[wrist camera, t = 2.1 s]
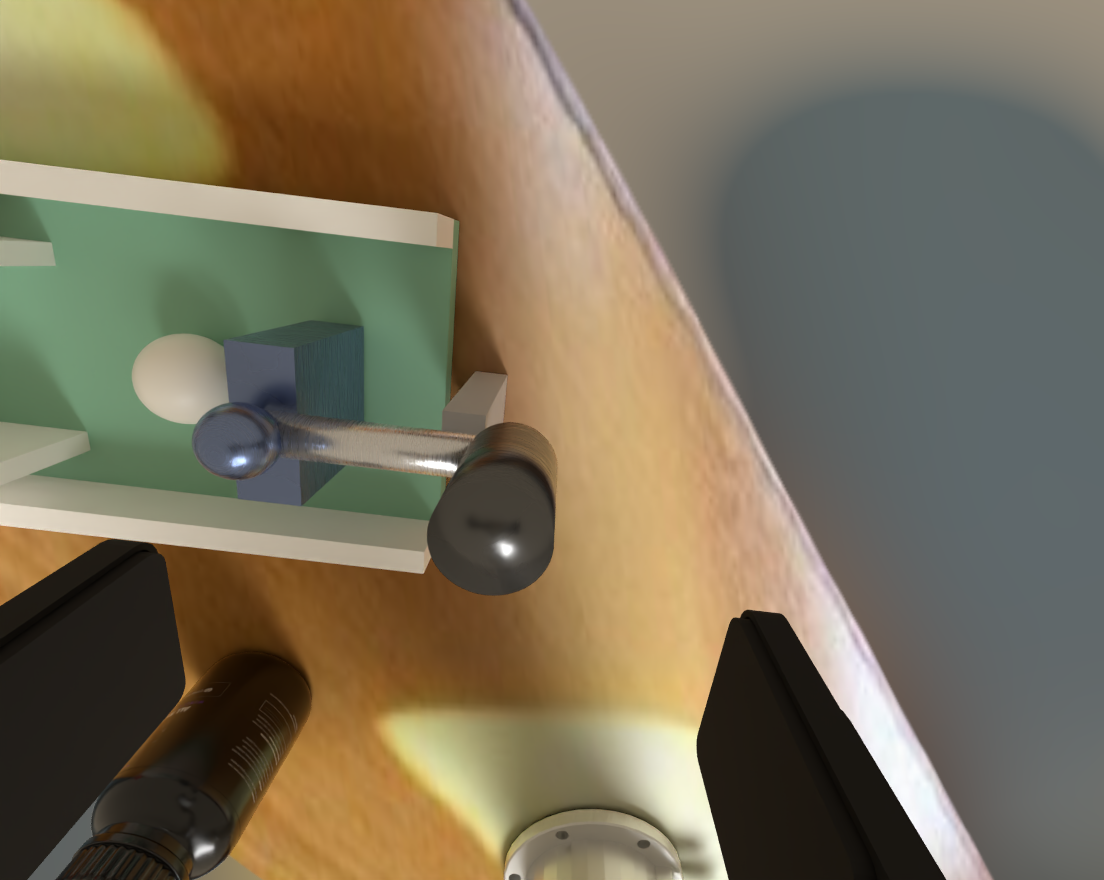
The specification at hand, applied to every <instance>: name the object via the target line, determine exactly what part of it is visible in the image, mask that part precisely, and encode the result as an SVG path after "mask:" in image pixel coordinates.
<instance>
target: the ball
mask: <svg viewBox="0 0 1104 880" xmlns="http://www.w3.org/2000/svg"><path fill="white" fill-rule="evenodd" d="M132 383H133V387H134V390H135V392H136V394H137V396H138V398H139V399H140V401H141V402H142V403H143V404H144V405H145V406H146V407H147V408H148V409H149V410H150V411H151V412H153V413H154V414H156V415H158V416H159V417H161V418H164V419H166V420H169V421H172V422H176V423H181V424H197V422H198V421H199V419H200V418H201V417H202V416H203V415H204V414H205V413H206V412H208V411H209V410H210V409H212V408H214V407H216V406H218V405H221V404H224V403H229V397H228V386H227V375H226V364H225V353H224V347H223V346H221V345H220V344H218V343H216V342H215V341H213V340H211V339H209V338H206V337H203V336H199V335H195V334H184V333H182V334H171V335H167V336H164V337H161V338H158V339H156V340H154V341H153V342H151V343H149V344H148V345H147V346H146V347H145V348H143V349H142V351H141V352H140V353H139V354H138V356H137V358H136V359H135V362H134V364H133V369H132Z"/></svg>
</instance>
